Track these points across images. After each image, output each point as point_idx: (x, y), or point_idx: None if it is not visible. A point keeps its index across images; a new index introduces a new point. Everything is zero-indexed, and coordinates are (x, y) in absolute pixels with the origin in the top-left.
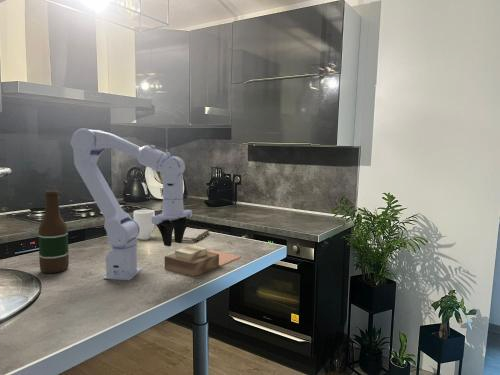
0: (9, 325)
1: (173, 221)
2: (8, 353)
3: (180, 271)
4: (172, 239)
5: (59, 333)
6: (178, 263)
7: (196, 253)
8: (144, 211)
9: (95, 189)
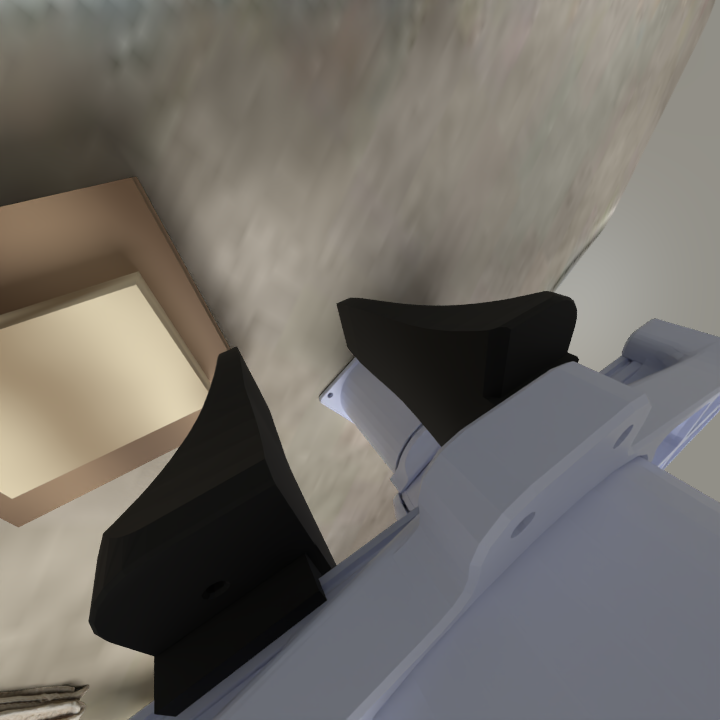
0: (614, 203)
1: (331, 558)
2: (681, 69)
3: (196, 287)
4: (60, 701)
5: (630, 73)
6: (209, 315)
7: (40, 311)
8: None
9: None
